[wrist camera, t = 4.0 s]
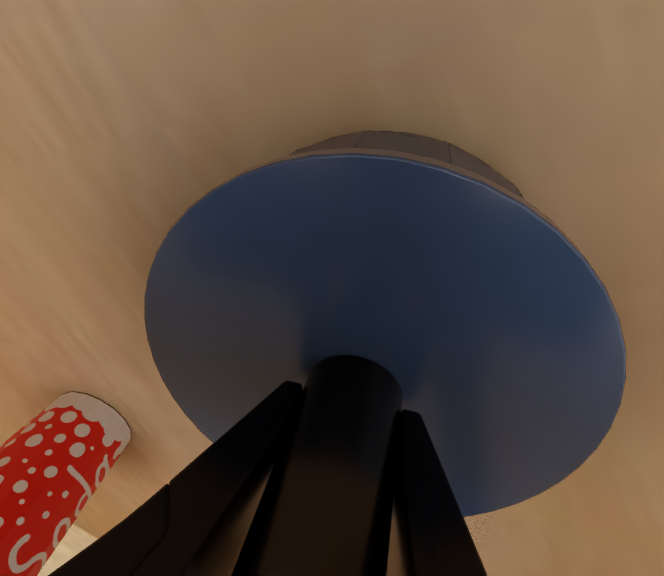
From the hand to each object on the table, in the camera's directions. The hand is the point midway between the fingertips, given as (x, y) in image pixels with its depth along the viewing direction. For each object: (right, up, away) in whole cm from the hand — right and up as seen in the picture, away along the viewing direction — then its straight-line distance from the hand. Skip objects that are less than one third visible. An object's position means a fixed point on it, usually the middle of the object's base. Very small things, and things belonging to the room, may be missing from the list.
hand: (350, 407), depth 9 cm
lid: (0, +1, +1) cm, 1 cm away
